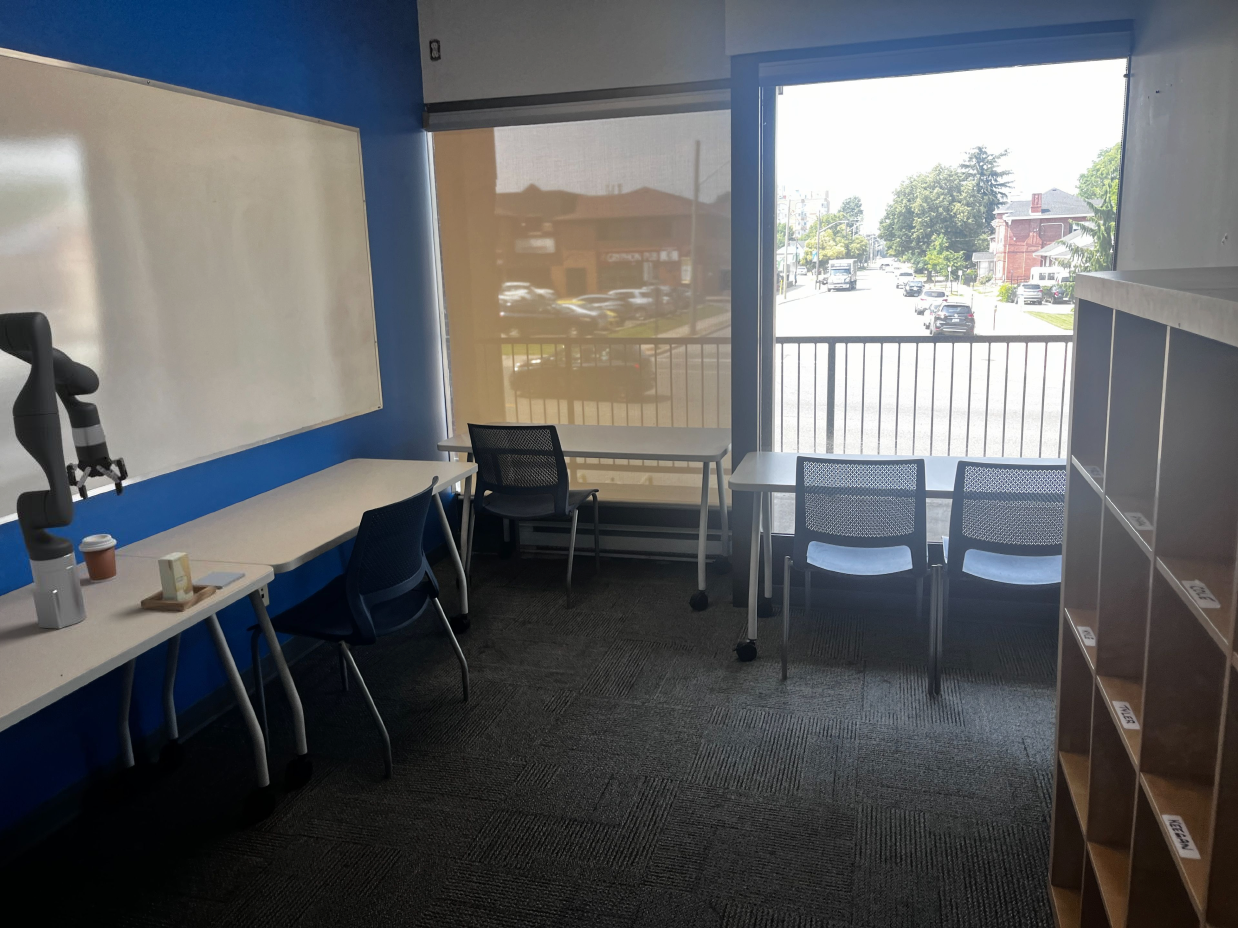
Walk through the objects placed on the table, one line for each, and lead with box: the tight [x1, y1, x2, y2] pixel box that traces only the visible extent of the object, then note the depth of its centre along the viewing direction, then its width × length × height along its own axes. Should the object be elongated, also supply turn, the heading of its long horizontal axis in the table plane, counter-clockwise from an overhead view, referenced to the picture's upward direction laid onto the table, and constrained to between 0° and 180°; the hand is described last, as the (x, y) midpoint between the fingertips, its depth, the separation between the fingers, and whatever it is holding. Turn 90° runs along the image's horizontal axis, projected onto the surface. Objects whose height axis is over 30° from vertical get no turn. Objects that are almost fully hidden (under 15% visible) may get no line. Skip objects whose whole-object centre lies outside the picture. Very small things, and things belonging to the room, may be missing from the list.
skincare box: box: [157, 551, 195, 601], centre depth 228 cm, size 6×4×12 cm
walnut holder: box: [140, 584, 217, 612], centre depth 229 cm, size 12×12×2 cm
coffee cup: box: [78, 533, 118, 584], centre depth 246 cm, size 9×9×12 cm
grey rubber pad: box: [192, 570, 246, 589], centre depth 242 cm, size 10×10×1 cm
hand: (102, 496), depth 247 cm, fingers open, 8 cm apart
